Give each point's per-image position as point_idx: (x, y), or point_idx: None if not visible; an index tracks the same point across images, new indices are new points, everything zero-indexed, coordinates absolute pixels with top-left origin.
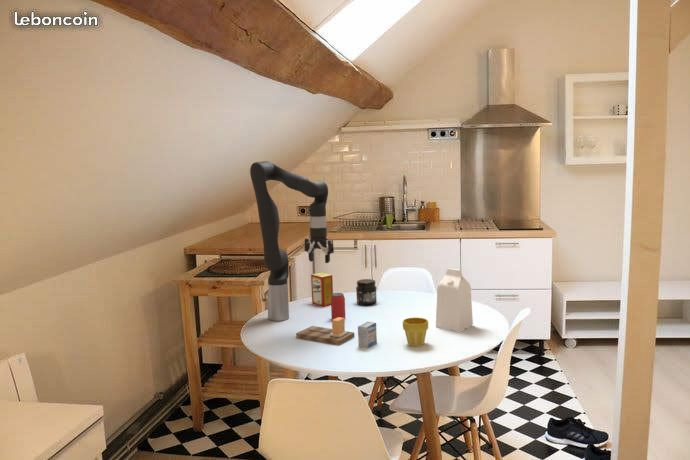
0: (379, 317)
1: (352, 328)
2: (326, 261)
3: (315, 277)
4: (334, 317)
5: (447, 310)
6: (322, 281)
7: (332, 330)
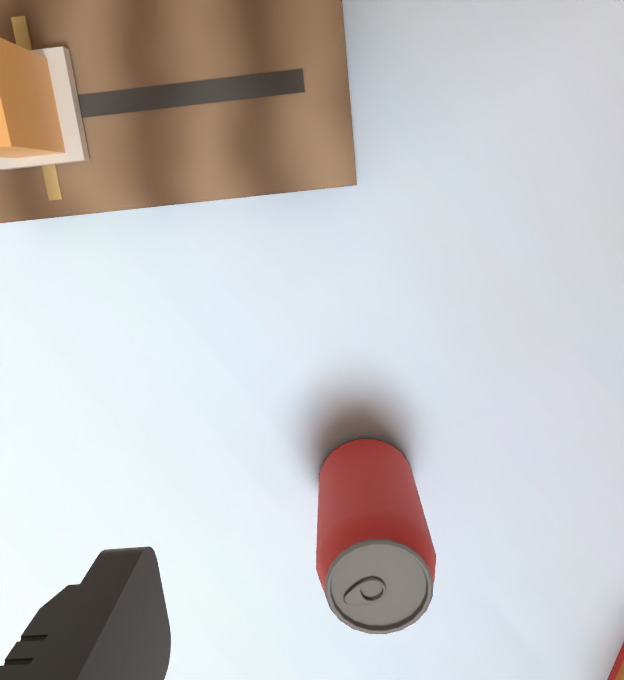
0: None
1: (150, 363)
2: (92, 572)
3: None
4: (364, 444)
5: None
6: None
7: (32, 52)
